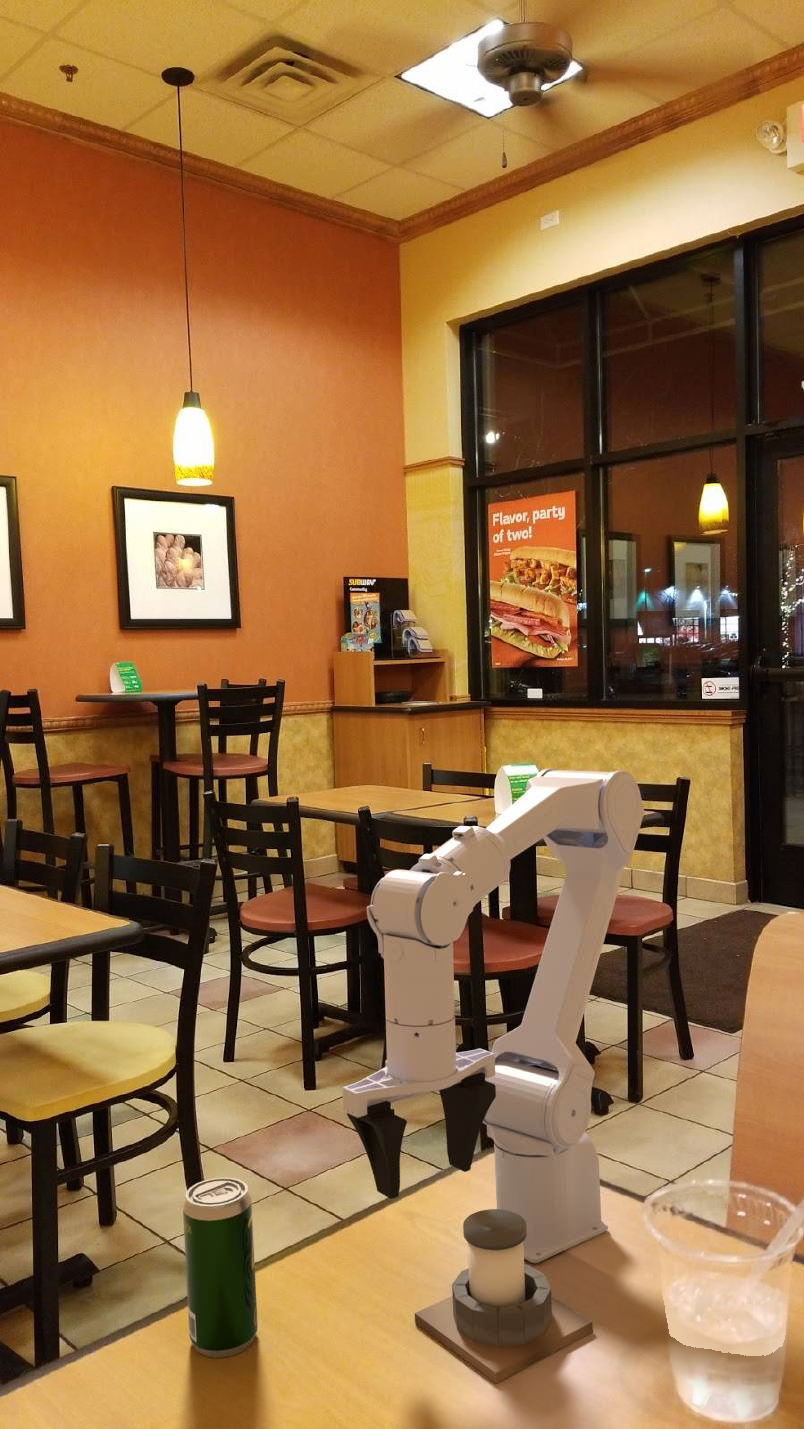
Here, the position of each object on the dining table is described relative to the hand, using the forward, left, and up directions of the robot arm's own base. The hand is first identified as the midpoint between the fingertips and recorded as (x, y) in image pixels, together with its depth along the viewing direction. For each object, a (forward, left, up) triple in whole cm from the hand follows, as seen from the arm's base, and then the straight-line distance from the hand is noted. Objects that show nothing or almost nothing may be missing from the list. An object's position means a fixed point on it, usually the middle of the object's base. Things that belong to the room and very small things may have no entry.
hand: (424, 1180), depth 92 cm
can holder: (-2, +6, -10) cm, 12 cm away
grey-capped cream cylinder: (-2, +6, -10) cm, 12 cm away
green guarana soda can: (+16, -7, -11) cm, 20 cm away
